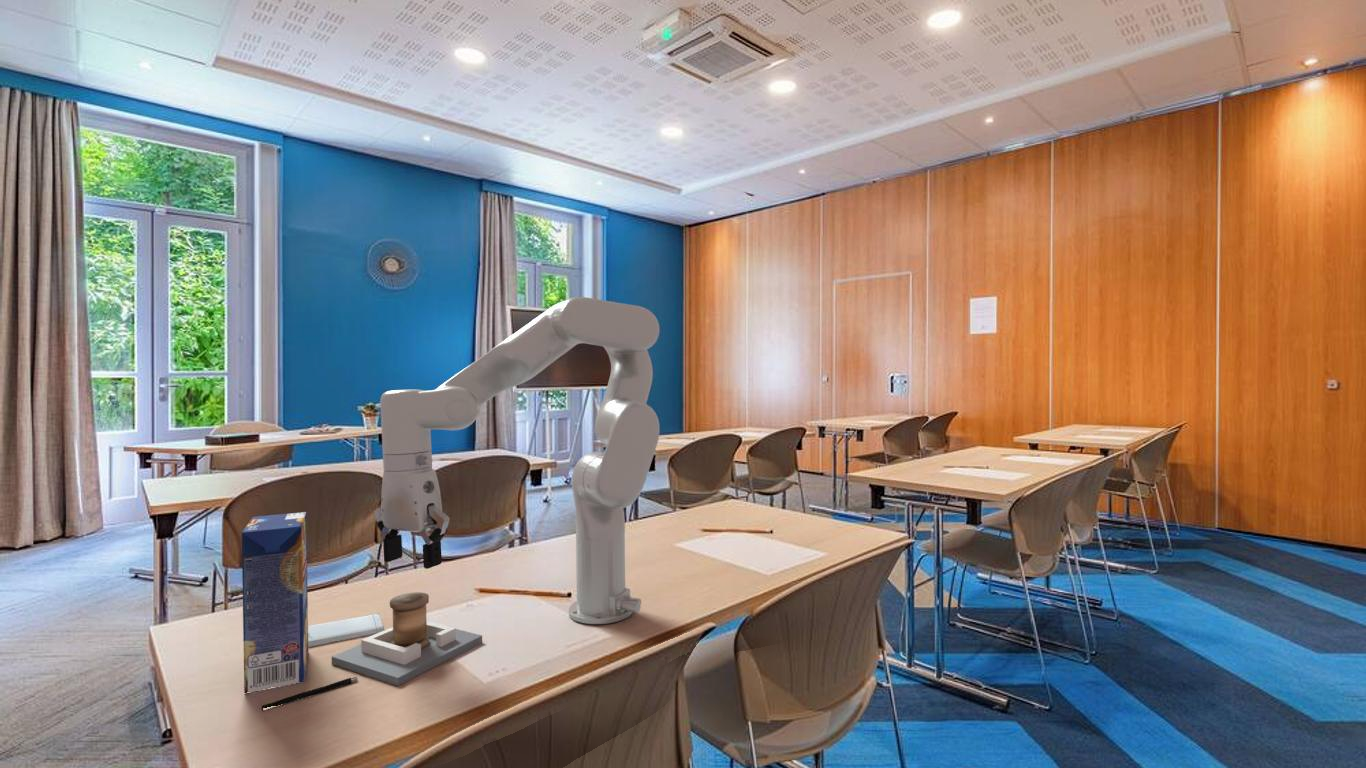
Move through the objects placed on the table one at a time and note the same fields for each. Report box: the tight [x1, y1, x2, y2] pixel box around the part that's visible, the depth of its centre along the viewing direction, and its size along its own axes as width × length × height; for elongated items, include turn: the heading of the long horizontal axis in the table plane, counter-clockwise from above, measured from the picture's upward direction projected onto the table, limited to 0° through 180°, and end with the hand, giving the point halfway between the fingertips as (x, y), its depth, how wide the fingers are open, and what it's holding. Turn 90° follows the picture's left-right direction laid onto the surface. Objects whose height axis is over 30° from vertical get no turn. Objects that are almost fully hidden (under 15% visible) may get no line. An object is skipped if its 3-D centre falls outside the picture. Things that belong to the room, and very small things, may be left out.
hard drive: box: [308, 613, 384, 648], centre depth 113 cm, size 2×8×12 cm
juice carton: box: [241, 511, 309, 693], centre depth 97 cm, size 12×8×24 cm, turn 28°
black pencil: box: [261, 676, 359, 710], centre depth 90 cm, size 12×1×1 cm, turn 132°
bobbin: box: [389, 591, 430, 649], centre depth 104 cm, size 6×6×8 cm
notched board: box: [331, 620, 483, 686], centre depth 104 cm, size 16×17×3 cm
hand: (412, 562), depth 104 cm, fingers open, 9 cm apart
